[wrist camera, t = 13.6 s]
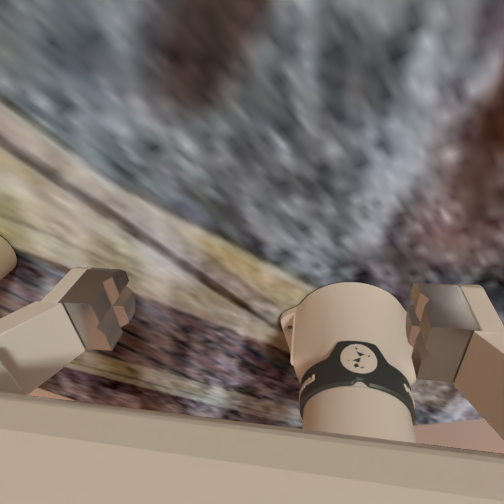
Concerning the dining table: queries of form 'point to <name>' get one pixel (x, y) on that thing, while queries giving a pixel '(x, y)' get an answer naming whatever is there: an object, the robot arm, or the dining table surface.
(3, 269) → the travel mug
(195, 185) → the dining table surface
